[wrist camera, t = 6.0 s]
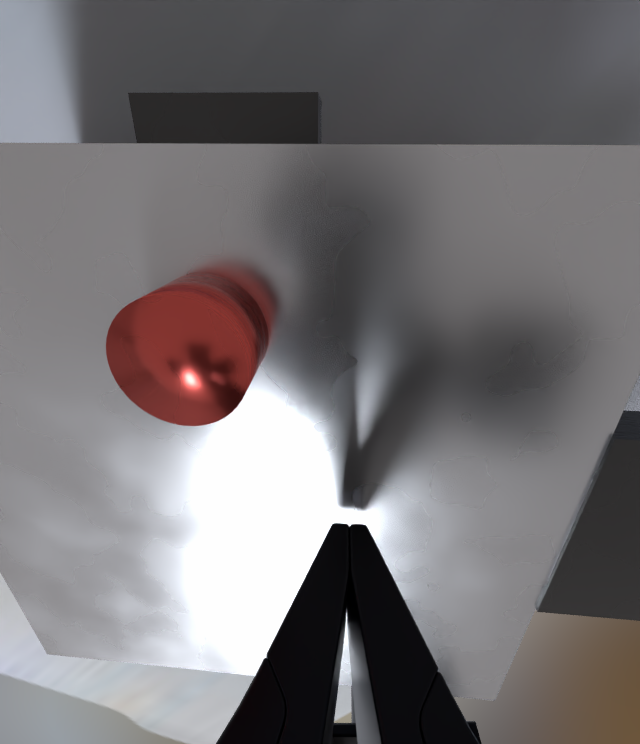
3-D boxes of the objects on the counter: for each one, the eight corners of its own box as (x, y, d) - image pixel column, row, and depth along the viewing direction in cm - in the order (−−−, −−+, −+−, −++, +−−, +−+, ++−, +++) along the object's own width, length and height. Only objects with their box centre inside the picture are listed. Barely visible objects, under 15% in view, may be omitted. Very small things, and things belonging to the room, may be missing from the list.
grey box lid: (568, 672, 14) (613, 776, 11) (67, 623, 15) (12, 706, 13) (871, 152, 6) (1189, 132, 4) (-171, 148, 8) (-411, 130, 5)
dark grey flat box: (425, 511, 22) (463, 668, 15) (161, 495, 23) (76, 636, 16) (497, 135, 13) (663, 78, 6) (73, 133, 14) (-197, 82, 7)
